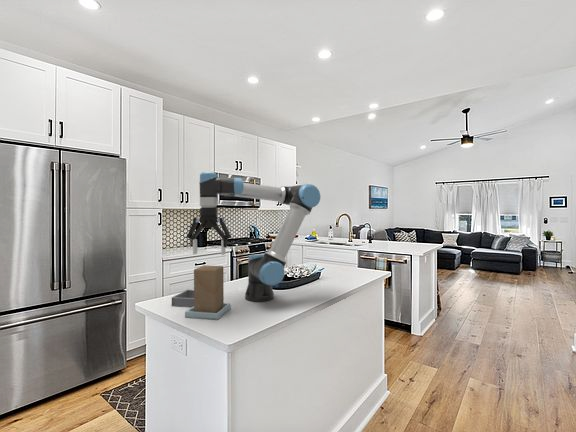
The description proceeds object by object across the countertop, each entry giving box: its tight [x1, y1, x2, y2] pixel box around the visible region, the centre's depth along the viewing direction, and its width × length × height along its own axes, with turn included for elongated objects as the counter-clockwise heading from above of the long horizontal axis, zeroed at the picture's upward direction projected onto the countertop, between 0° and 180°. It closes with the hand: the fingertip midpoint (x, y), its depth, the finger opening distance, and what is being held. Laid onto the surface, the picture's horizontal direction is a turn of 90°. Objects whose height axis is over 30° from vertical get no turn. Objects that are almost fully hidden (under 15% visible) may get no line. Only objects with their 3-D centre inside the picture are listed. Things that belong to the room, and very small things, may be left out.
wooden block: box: [193, 265, 225, 313], centre depth 140 cm, size 10×10×20 cm
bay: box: [171, 289, 194, 308], centre depth 156 cm, size 14×15×4 cm
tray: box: [184, 302, 232, 321], centre depth 140 cm, size 15×15×2 cm
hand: (209, 254), depth 140 cm, fingers open, 13 cm apart
